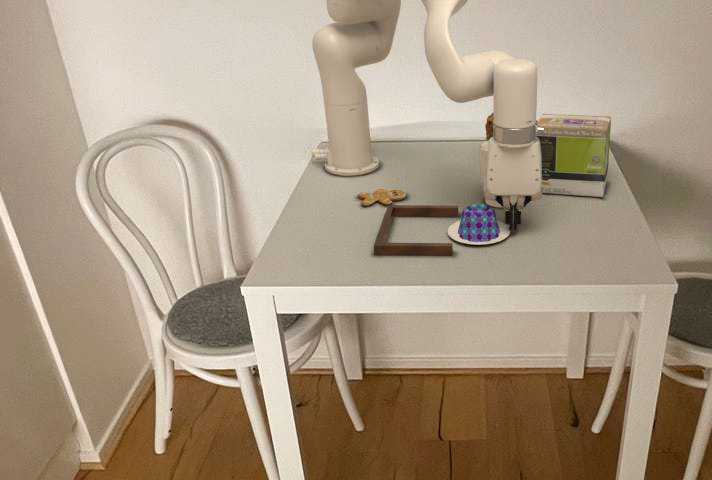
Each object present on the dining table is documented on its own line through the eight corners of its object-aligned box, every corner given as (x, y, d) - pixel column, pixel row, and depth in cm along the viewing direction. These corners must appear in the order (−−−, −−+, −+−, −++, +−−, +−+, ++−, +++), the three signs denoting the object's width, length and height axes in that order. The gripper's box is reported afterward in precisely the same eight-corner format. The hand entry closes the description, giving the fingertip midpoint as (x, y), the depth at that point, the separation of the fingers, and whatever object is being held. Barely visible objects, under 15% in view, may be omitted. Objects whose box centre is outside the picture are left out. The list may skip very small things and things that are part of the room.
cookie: (355, 190, 162) (401, 184, 165) (356, 194, 162) (401, 188, 165) (362, 204, 155) (410, 198, 158) (363, 209, 156) (410, 202, 158)
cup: (519, 211, 154) (520, 154, 148) (475, 208, 156) (474, 152, 149) (525, 195, 162) (527, 140, 155) (484, 192, 163) (483, 137, 157)
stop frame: (374, 255, 138) (373, 245, 137) (388, 214, 154) (388, 204, 153) (452, 255, 138) (451, 246, 137) (458, 214, 153) (458, 205, 152)
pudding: (508, 220, 150) (508, 196, 148) (512, 247, 140) (512, 221, 138) (448, 221, 150) (447, 197, 148) (447, 248, 140) (446, 222, 137)
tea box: (607, 181, 168) (612, 115, 160) (603, 199, 159) (608, 129, 151) (540, 176, 170) (542, 111, 163) (532, 193, 162) (534, 125, 154)
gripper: (555, 126, 137) (551, 219, 147) (473, 126, 138) (474, 219, 148) (557, 140, 131) (553, 236, 141) (471, 139, 132) (473, 235, 141)
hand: (513, 227), depth 144 cm, fingers closed
